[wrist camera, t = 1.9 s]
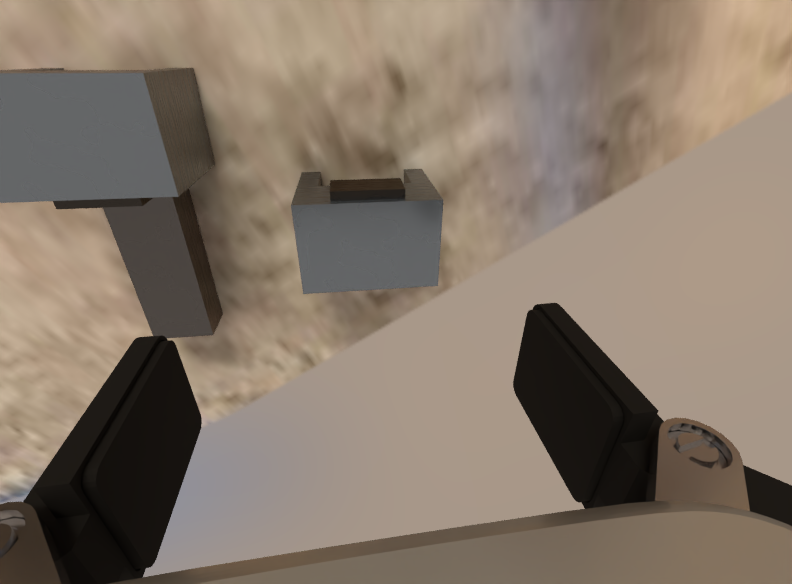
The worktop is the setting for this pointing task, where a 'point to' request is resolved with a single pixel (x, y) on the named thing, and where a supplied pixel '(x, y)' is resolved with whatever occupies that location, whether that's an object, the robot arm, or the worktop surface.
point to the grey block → (367, 232)
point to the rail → (120, 173)
